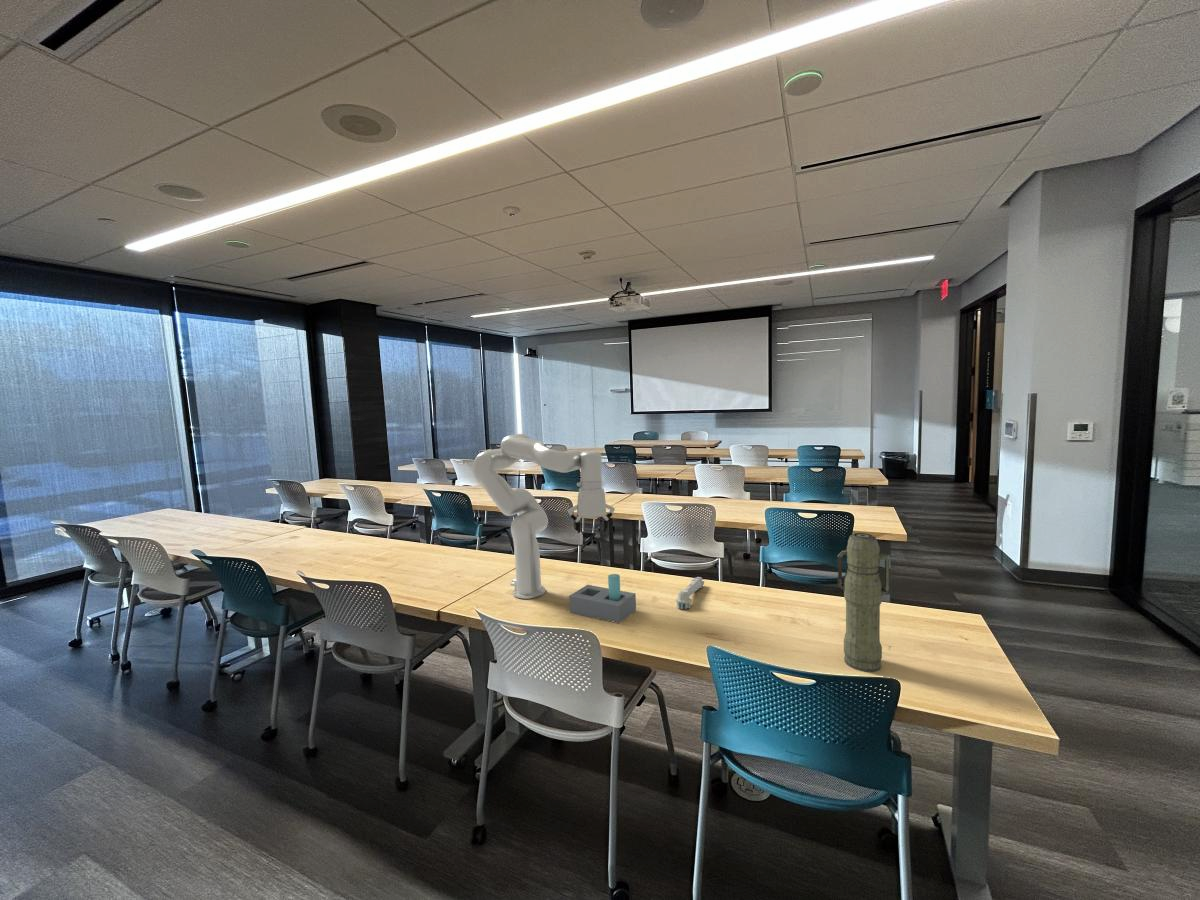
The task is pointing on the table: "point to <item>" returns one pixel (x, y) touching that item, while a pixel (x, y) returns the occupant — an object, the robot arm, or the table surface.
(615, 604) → the hole block
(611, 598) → the teal dowel
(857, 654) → the thermos
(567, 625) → the table surface
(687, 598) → the grey handheld tool
